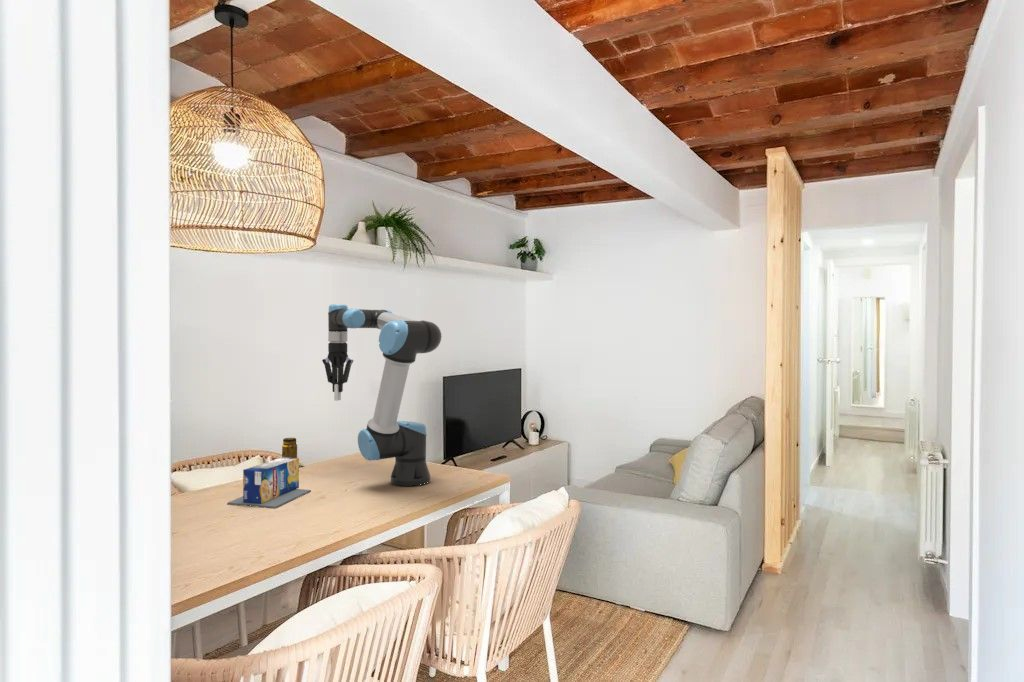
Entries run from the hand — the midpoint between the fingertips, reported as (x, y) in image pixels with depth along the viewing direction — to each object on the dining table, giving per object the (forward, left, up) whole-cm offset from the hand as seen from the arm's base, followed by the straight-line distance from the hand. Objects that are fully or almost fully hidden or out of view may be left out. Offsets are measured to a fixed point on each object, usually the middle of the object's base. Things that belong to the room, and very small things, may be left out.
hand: (337, 400), depth 262 cm
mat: (+3, +42, -29) cm, 51 cm away
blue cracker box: (+3, +29, -23) cm, 37 cm away
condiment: (+23, -4, -30) cm, 38 cm away
